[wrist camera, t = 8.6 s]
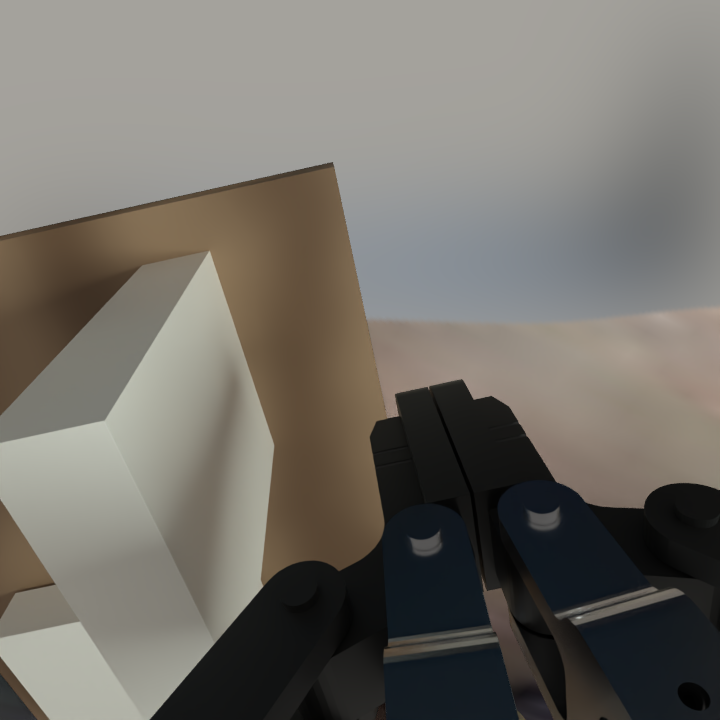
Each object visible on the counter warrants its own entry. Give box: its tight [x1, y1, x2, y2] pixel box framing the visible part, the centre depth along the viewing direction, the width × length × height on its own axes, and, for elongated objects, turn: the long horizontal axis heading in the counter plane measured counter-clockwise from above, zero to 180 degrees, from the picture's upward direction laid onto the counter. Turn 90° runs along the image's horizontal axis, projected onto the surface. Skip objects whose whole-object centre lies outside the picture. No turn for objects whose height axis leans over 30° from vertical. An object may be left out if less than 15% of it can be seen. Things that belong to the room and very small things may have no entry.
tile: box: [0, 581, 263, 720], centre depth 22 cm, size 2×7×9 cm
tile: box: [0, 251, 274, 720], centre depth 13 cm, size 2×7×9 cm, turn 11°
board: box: [0, 162, 387, 720], centre depth 20 cm, size 18×21×1 cm
